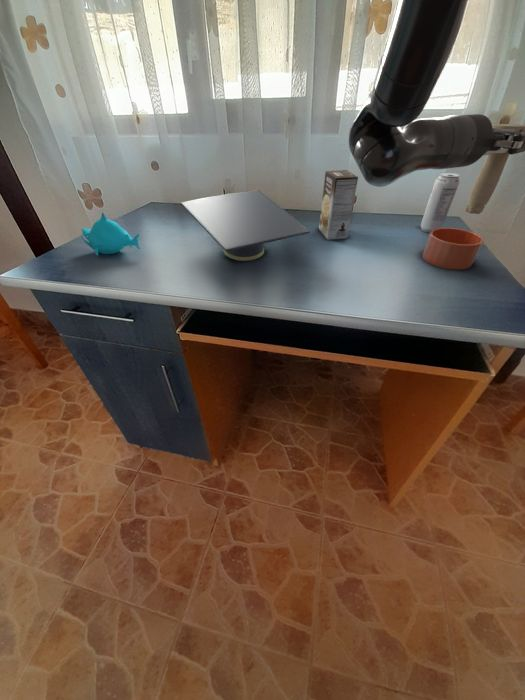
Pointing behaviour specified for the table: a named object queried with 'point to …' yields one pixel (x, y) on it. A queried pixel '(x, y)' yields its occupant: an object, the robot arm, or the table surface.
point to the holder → (452, 248)
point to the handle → (489, 175)
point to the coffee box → (337, 203)
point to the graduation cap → (243, 222)
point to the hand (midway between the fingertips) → (514, 137)
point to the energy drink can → (440, 201)
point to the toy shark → (107, 237)
